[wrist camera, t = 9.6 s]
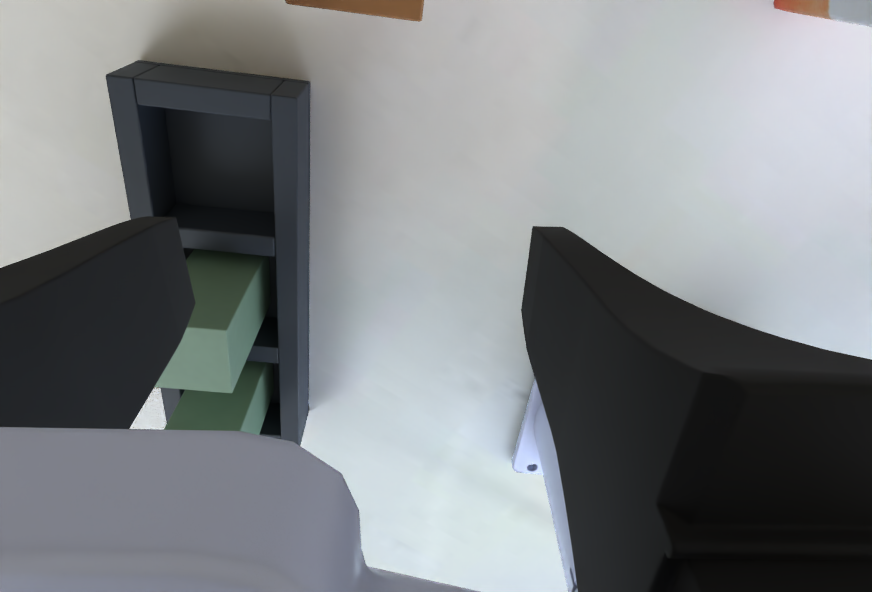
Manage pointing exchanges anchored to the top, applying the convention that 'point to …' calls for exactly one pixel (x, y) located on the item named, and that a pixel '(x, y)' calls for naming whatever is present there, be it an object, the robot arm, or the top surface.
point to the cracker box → (831, 9)
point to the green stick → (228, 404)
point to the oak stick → (370, 7)
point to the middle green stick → (219, 320)
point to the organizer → (229, 194)
